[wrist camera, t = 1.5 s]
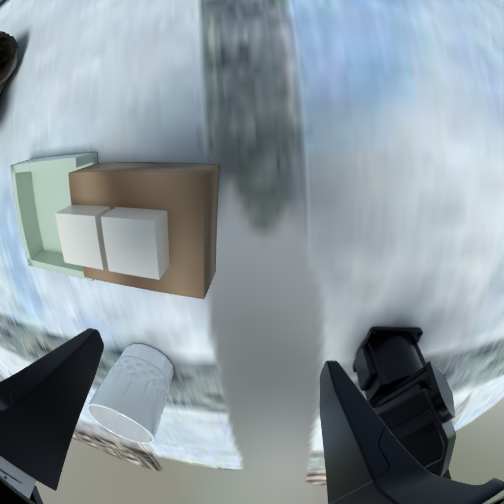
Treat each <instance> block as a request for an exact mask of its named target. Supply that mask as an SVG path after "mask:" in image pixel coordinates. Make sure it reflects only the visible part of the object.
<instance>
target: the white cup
mask: <svg viewBox="0 0 504 504" xmlns="http://www.w3.org/2000/svg"><path fill="white" fill-rule="evenodd" d="M173 374H174V371H173V365H172V364H171V362H170V361H169V360H168V358H167V357H166V356H165V355H163V354H162V353H161V352H159V351H158V350H157V349H154V348H152V347H149V346H147V345H144V344H132V345H129V346H127V347H126V348H125V350H124V351H123V353H122V355H121V356H120V358H119V359H118V361H117V362H116V363H115V364H114V365H113V366H112V368H111V369H110V371H109V372H108V373H107V375H106V377H105V378H104V380H103V381H102V383H101V384H100V386H99V388H98V389H97V391H96V392H95V394H94V396H93V397H92V399H91V400H90V402H89V404H88V405H87V410H88V412H89V414H90V415H91V416H92V418H93V419H94V420H95V421H97V422H98V423H99V424H100V425H101V426H103V427H104V428H106V429H107V430H109V431H110V432H112V433H114V434H116V435H118V436H120V437H122V438H125V439H127V440H130V441H133V442H137V443H142V444H151V443H153V442H154V440H155V437H156V433H157V430H158V426H159V423H160V420H161V417H162V413H163V410H164V407H165V402H166V399H167V396H168V391H169V386H170V383H171V380H172V377H173Z"/></svg>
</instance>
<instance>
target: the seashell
mask: <svg viewBox="0 0 504 504" xmlns="http://www.w3.org/2000/svg"><path fill="white" fill-rule="evenodd" d="M18 49H19V47H18V43H17V42H16V40H15V39H14V37H13V36H10V35H9V34H6V33H5V32H1V31H0V94H1V91H2V89H3V87H4V85H5V83H6V81H7V79H8V78H9V76H10V75H11V74H12V72H13V71H14V70H15V68H16V65H17V62H18V60H17V55H18Z"/></svg>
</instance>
